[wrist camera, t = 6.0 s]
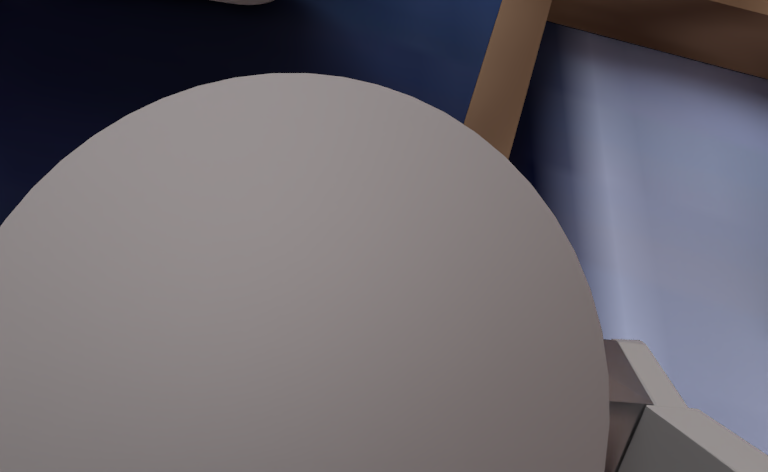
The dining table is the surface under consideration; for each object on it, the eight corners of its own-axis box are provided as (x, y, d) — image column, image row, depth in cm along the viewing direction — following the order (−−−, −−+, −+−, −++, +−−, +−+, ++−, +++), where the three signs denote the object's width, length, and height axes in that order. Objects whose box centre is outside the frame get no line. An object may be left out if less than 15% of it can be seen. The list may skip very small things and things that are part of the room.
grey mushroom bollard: (219, 445, 14) (-231, 613, 4) (293, 258, 15) (125, 13, 5) (413, 516, 13) (524, 940, 3) (468, 314, 15) (657, 164, 5)
